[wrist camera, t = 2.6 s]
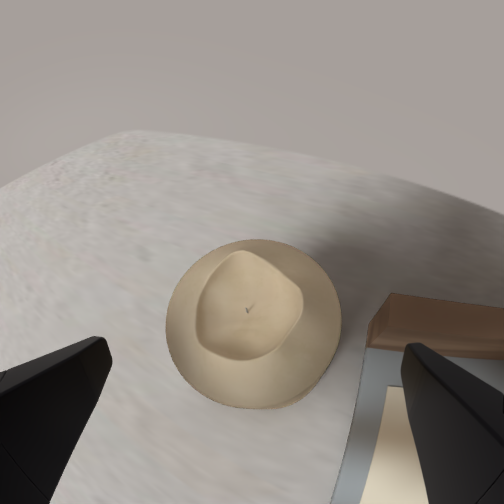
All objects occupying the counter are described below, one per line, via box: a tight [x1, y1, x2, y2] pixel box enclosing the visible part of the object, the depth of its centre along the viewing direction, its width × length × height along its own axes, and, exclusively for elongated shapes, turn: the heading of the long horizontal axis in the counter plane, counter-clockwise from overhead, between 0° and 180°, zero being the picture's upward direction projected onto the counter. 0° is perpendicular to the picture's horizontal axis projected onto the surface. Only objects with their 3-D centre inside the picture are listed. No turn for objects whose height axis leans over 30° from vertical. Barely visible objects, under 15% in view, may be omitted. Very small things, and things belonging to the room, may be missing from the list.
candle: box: [166, 240, 342, 409], centre depth 13 cm, size 6×6×10 cm
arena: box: [330, 293, 504, 504], centre depth 11 cm, size 12×14×5 cm
